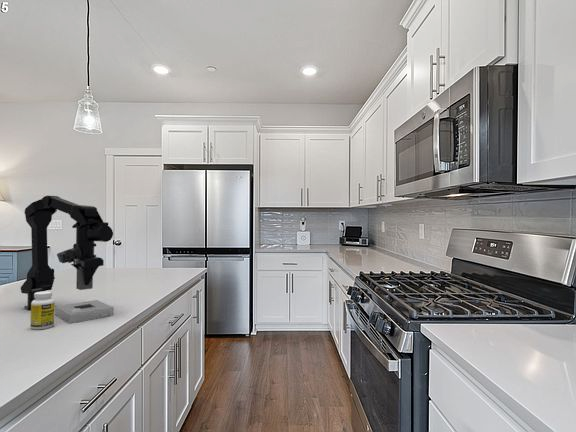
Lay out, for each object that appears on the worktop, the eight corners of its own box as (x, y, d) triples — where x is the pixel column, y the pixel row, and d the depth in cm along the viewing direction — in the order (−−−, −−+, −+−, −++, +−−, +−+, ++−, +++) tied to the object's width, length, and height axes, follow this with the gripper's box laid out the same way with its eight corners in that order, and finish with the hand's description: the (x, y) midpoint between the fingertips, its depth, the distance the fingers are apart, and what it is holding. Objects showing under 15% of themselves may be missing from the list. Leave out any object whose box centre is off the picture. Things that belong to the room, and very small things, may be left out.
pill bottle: (42, 330, 109) (42, 295, 109) (25, 329, 111) (26, 293, 111) (58, 325, 115) (59, 291, 115) (42, 323, 117) (43, 290, 117)
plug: (88, 286, 130) (88, 267, 130) (92, 288, 128) (92, 268, 128) (76, 288, 127) (76, 268, 127) (80, 290, 125) (80, 269, 125)
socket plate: (54, 314, 128) (55, 303, 128) (96, 307, 138) (96, 297, 138) (69, 323, 117) (69, 312, 117) (113, 315, 127) (113, 304, 127)
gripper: (51, 240, 128) (50, 283, 128) (68, 243, 115) (67, 291, 115) (85, 239, 136) (84, 279, 136) (104, 241, 124) (103, 286, 124)
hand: (84, 284), depth 128 cm, fingers closed on plug, 4 cm apart
